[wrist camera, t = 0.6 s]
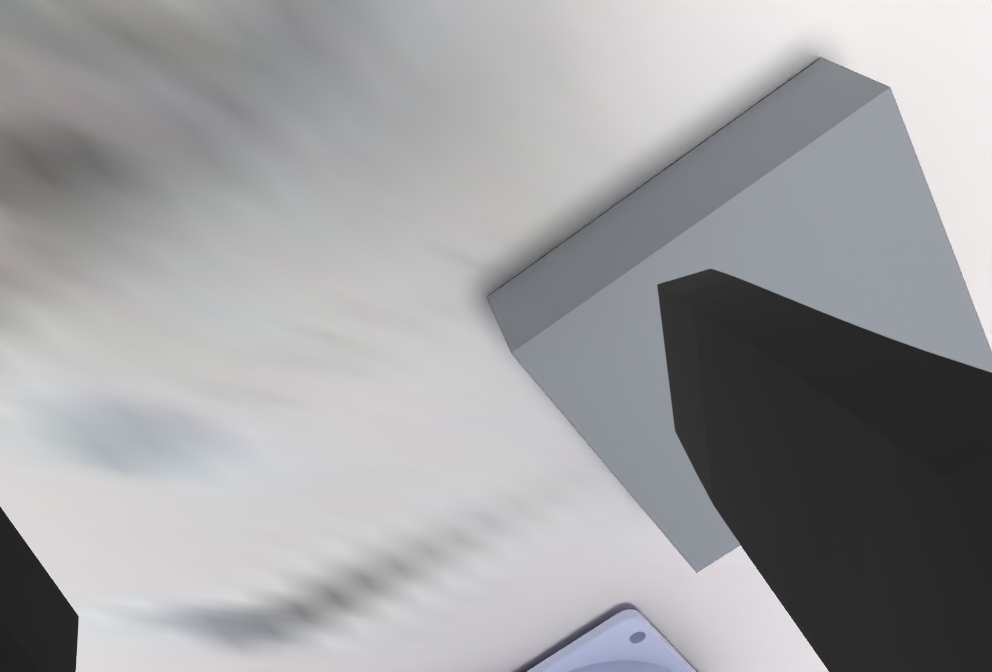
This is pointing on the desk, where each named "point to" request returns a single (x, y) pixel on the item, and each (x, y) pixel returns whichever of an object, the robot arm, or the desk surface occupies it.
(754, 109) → the plinth
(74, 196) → the desk surface
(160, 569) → the desk surface
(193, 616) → the desk surface
